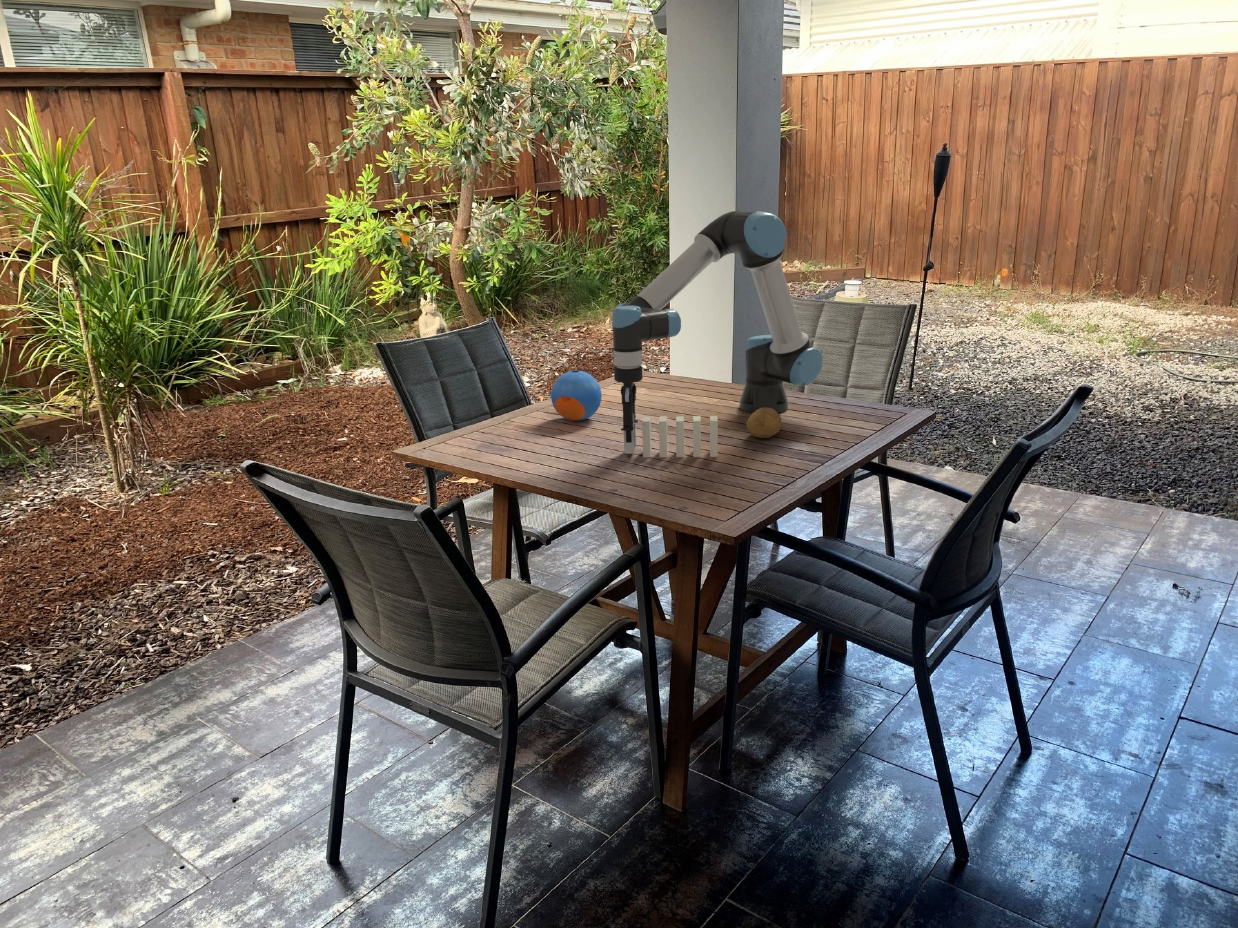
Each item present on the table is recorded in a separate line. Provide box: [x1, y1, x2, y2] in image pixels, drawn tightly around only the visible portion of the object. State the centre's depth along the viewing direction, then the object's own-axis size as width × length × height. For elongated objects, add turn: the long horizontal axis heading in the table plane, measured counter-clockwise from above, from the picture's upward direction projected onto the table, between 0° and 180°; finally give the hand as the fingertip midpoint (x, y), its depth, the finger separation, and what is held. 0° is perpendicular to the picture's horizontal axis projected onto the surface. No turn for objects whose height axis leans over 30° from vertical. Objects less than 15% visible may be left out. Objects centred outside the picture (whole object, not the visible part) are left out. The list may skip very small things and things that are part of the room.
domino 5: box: [692, 415, 702, 458], centre depth 244 cm, size 2×5×10 cm, turn 175°
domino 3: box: [658, 415, 669, 458], centre depth 245 cm, size 2×5×10 cm, turn 175°
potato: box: [745, 408, 782, 439], centre depth 258 cm, size 10×14×8 cm
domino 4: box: [675, 415, 685, 458], centre depth 245 cm, size 2×5×10 cm, turn 175°
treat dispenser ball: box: [550, 370, 603, 422], centre depth 280 cm, size 16×15×15 cm
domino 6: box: [709, 415, 719, 458], centre depth 244 cm, size 2×5×10 cm, turn 175°
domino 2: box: [641, 416, 652, 458], centre depth 246 cm, size 2×5×10 cm, turn 175°
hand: (630, 449), depth 247 cm, fingers closed on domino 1, 5 cm apart
